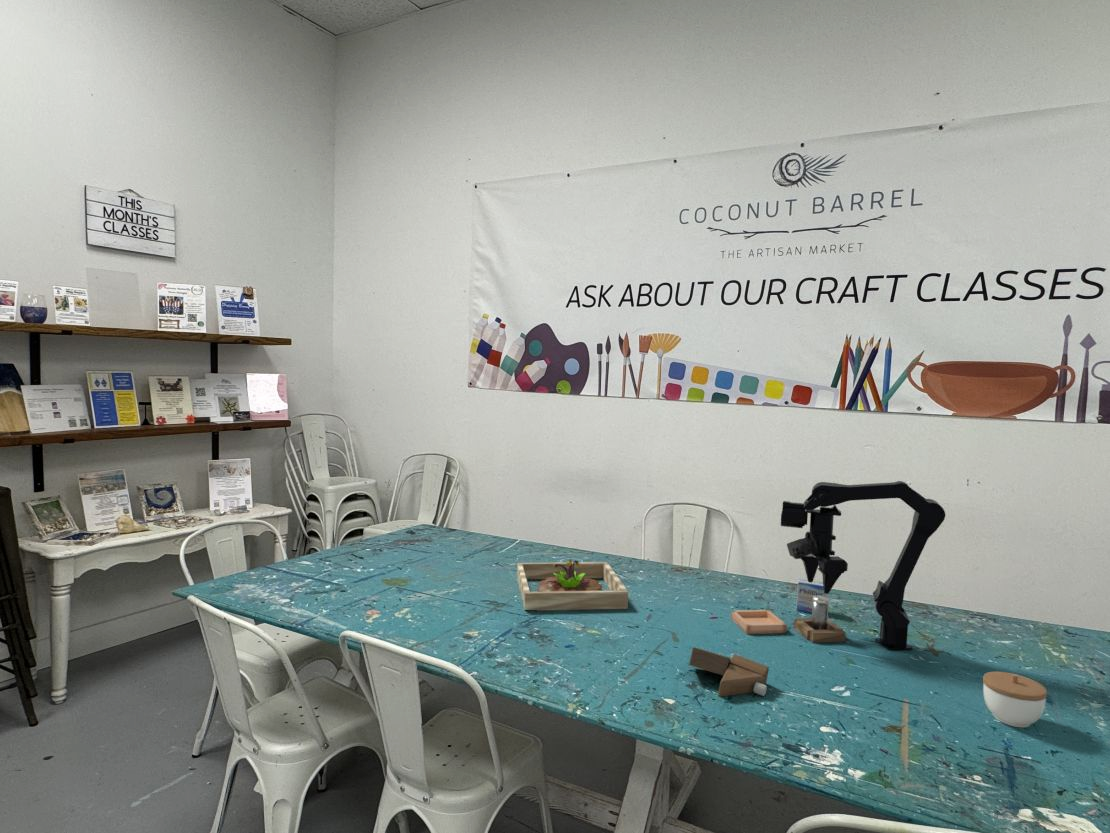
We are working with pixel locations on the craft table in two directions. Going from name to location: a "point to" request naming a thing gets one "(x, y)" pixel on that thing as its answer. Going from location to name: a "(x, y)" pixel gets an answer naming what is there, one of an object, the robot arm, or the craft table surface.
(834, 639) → the brown wooden square frame
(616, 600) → the birch planter frame
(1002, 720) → the lidded jar
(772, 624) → the terracotta tray
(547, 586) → the plant
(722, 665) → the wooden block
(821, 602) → the silver metal cylinder
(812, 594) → the medicine box
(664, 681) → the craft table surface
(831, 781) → the craft table surface
